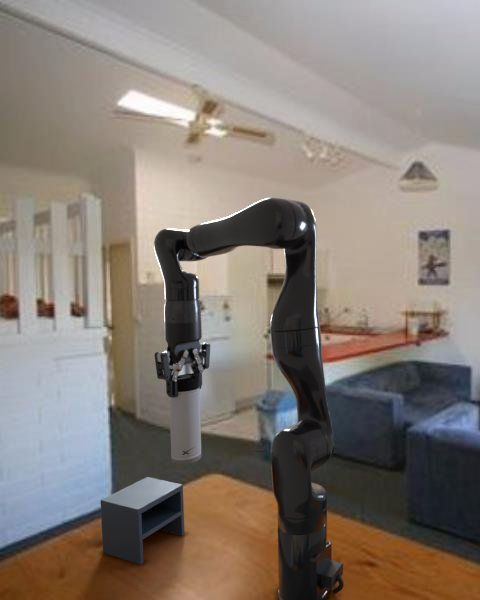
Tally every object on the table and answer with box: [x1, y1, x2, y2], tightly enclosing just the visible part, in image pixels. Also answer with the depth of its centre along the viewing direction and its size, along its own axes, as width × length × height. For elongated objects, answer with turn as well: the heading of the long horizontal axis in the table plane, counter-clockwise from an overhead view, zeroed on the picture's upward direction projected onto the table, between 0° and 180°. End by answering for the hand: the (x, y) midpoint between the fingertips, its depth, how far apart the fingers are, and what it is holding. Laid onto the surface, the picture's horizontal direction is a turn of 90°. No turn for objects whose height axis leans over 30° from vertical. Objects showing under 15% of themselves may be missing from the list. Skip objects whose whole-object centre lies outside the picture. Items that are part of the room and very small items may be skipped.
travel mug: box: [169, 372, 202, 466], centre depth 108 cm, size 6×7×20 cm
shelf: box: [99, 476, 186, 565], centre depth 107 cm, size 11×12×12 cm
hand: (185, 392), depth 108 cm, fingers closed on travel mug, 6 cm apart
